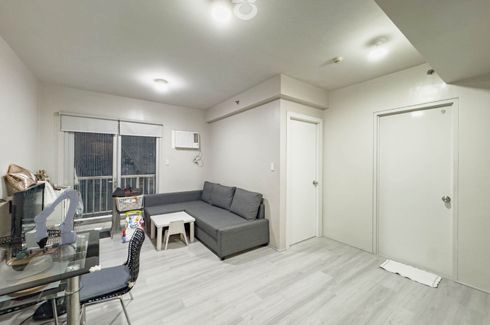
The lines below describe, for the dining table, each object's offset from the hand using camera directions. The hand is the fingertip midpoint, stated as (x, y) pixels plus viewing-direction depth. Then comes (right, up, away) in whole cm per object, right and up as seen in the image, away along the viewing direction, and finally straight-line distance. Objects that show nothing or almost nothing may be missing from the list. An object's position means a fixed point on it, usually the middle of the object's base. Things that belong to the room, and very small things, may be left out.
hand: (43, 247), depth 157 cm
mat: (0, -2, 0) cm, 2 cm away
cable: (0, -1, 0) cm, 1 cm away
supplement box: (-14, -2, +7) cm, 16 cm away
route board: (+4, -2, -8) cm, 9 cm away
